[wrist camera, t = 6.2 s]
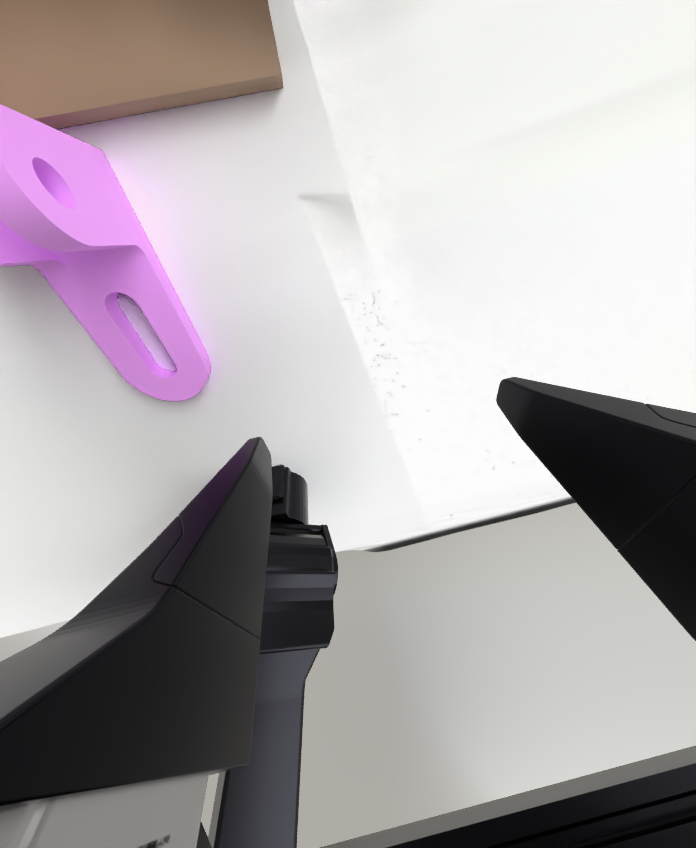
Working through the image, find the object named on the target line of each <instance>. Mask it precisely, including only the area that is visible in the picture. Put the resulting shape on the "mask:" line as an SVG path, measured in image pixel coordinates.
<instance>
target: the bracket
mask: <svg viewBox="0 0 696 848" xmlns="http://www.w3.org/2000/svg"><path fill="white" fill-rule="evenodd" d="M16 265H29V266H32V267H34V268H35V269H37V270H38V271H39V272H40V273H41V274H42V275H43V276H44V277H45V279H46V280H47V281H48V283H49V284H50V285H51V286H52V288H53V289H54V290H55V291H56V293H57V294H58V295H59V297H60V298H61V299H62V300H63V302H64V303H65V304H66V305H67V307H68V308H69V309H70V311H71V312H72V313H73V314H74V316H75V317H76V318H77V319H78V321H79V322H80V323H81V325H82V326H83V327H84V328H85V330H86V331H87V332H88V333H89V335H90V336H91V337H92V339H93V340H94V341H95V342H96V344H97V345H98V346H99V347H100V349H101V350H102V351H103V353H104V354H105V355H106V356H107V358H108V359H109V360H110V361H111V363H112V364H113V365H114V367H115V368H116V369H117V370H118V372H119V373H120V374H121V375H122V377H123V378H124V379H125V380H126V381H127V382H128V383H129V384H131V385H132V386H133V387H134V388H136V389H137V390H139V391H141V392H143V393H144V394H146V395H149V396H151V397H154V398H157V399H161V400H167V401H182V400H186V399H189V398H192V397H193V396H195V395H197V394H198V393H199V392H200V391H201V390H202V388H203V387H204V385H205V384H206V382H207V381H208V379H209V376H210V373H211V363H210V359H209V356H208V354H207V352H206V350H205V348H204V346H203V344H202V342H201V340H200V338H199V336H198V334H197V332H196V330H195V328H194V326H193V324H192V322H191V321H190V319H189V317H188V315H187V313H186V311H185V309H184V307H183V305H182V303H181V301H180V299H179V297H178V295H177V293H176V291H175V290H174V288H173V286H172V284H171V282H170V280H169V278H168V276H167V274H166V272H165V270H164V268H163V266H162V264H161V262H160V260H159V259H158V257H157V255H156V253H155V251H154V249H153V247H152V245H151V243H150V241H149V239H148V237H147V235H146V233H145V231H144V229H143V228H142V226H141V224H140V222H139V220H138V218H137V216H136V214H135V212H134V210H133V208H132V206H131V204H130V202H129V200H128V199H127V197H126V195H125V193H124V191H123V189H122V187H121V185H120V183H119V181H118V179H117V177H116V175H115V173H114V171H113V169H112V168H111V166H110V164H109V162H108V160H107V158H106V156H105V154H104V152H103V151H102V150H100V149H98V148H96V147H94V146H92V145H89V144H87V143H85V142H83V141H81V140H78V139H76V138H74V137H72V136H70V135H67V134H65V133H63V132H61V131H59V130H56V129H54V128H52V127H50V126H48V125H45V124H43V123H41V122H39V121H37V120H34V119H32V118H30V117H28V116H26V115H23V114H21V113H19V112H17V111H15V110H12V109H10V108H8V107H6V106H3V105H0V267H5V266H16ZM118 293H122V294H125V295H127V296H129V297H130V298H132V299H133V300H134V301H135V302H136V303H137V304H138V305H139V307H140V308H141V310H142V312H143V313H144V315H145V316H146V318H147V320H148V321H149V323H150V324H151V326H152V328H153V329H154V331H155V333H156V334H157V336H158V337H159V339H160V341H161V342H162V344H163V346H164V347H165V349H166V350H167V352H168V354H169V355H170V357H171V358H172V360H173V362H174V363H175V365H176V368H177V371H168V370H165V369H163V368H162V367H160V366H159V365H158V364H157V362H156V361H155V359H154V358H153V356H152V355H151V353H150V352H149V350H148V349H147V347H146V346H145V344H144V343H143V341H142V340H141V338H140V337H139V335H138V334H137V332H136V331H135V329H134V328H133V326H132V325H131V323H130V322H129V320H128V319H127V317H126V316H125V314H124V313H123V311H122V310H121V308H120V307H119V305H118V302H117V295H118Z"/></svg>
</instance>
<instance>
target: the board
mask: <svg viewBox="0 0 696 848" xmlns="http://www.w3.org/2000/svg"><path fill="white" fill-rule="evenodd" d="M278 88H283V81H282V73H281V68H280V63H279V58H278V52H277V47H276V42H275V37H274V32H273V27H272V22H271V17H270V11H269V6H268V1H267V0H0V105H3V106H6V107H8V108H10V109H12V110H15V111H17V112H19V113H21V114H23V115H26V116H28V117H30V118H32V119H34V120H37V121H39V122H41V123H43V124H45V125H48V126H50V127H52V128H54V129H60V128H65V127H71V126H76V125H82V124H87V123H93V122H98V121H104V120H109V119H115V118H120V117H125V116H131V115H136V114H142V113H147V112H153V111H158V110H164V109H169V108H175V107H180V106H186V105H191V104H196V103H202V102H207V101H213V100H218V99H224V98H229V97H235V96H240V95H246V94H251V93H257V92H262V91H267V90H273V89H278Z"/></svg>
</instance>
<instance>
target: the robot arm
mask: <svg viewBox="0 0 696 848" xmlns="http://www.w3.org/2000/svg"><path fill="white" fill-rule="evenodd" d="M496 401H497V404H498V406H499V407H500V409H501V410H502V412H503V413H504V415H505V416H506V418H507V419H508V421H509V422H510V424H511V425H512V426H513V428H514V429H515V431H516V432H517V434H518V435H519V436H520V437H521V439H522V440H523V441H524V442H525V443H526V445H527V446H528V447H529V448H530V449H531V450H532V452H533V453H534V454H535V455H536V456H537V457H538V459H539V460H540V461H541V462H542V463H543V464H544V466H545V467H546V468H547V469H548V470H549V471H550V473H551V474H552V475H553V476H554V477H555V478H556V479H557V481H558V482H559V483H560V484H561V485H562V486H563V488H564V489H565V490H566V491H567V492H568V493H569V495H570V496H571V497H572V498H573V499H574V500H575V502H576V503H577V504H578V505H579V506H580V507H581V509H582V510H583V511H584V512H585V513H586V514H587V516H588V517H589V518H590V519H591V520H592V521H593V522H594V524H595V525H596V526H597V527H598V528H599V529H600V531H601V532H602V533H603V534H604V535H605V536H606V537H607V539H608V540H609V541H610V542H611V543H612V544H613V546H614V547H615V548H616V549H618V552H619V553H620V554H621V555H622V557H623V558H624V559H625V560H626V561H627V562H628V563H629V564H630V566H631V567H632V568H633V569H634V570H635V572H636V573H637V574H638V575H639V576H640V577H641V579H642V580H643V581H644V582H645V583H646V584H647V586H648V587H649V588H650V589H651V590H652V591H653V593H654V594H655V595H656V596H657V597H658V598H659V600H660V601H661V602H662V603H663V604H664V605H665V607H666V608H667V609H668V610H669V611H670V612H671V614H672V615H673V616H674V617H675V618H676V619H677V620H678V622H679V623H680V624H681V625H682V626H683V627H684V629H685V630H686V631H687V632H688V633H689V634H690V635H691V637H692V638H693V639H694V640H695V641H696V413H692V412H687V411H681V410H676V409H671V408H666V407H661V406H656V405H651V404H644V403H641V402H636V401H631V400H626V399H621V398H616V397H611V396H606V395H601V394H596V393H591V392H586V391H581V390H576V389H571V388H566V387H561V386H556V385H552V384H547V383H542V382H537V381H532V380H527V379H522V378H517V377H511V378H507V379H503V380H502V381H501V382H500V385H499V390H498V394H497V399H496ZM337 579H338V564H337V558H336V554H335V550H334V547H333V544H332V540H331V537H330V533H329V530H328V527H327V525H308V496H307V483H306V481H305V480H304V478H303V477H301V476H300V475H298V474H296V473H293V472H291V471H290V469H289V468H288V467H284V465H280V466H276V467H272V466H271V455H270V452H269V450H268V448H267V446H266V444H265V442H264V440H263V439H262V438H261V437H256V438H251V439H249V440H248V441H247V442H246V443H245V444H244V445H243V446H242V447H241V448H240V450H239V451H238V452H237V453H236V454H235V455H234V456H233V457H232V458H231V459H230V460H229V461H228V462H227V463H226V465H225V466H224V467H223V468H222V469H221V470H220V471H219V472H218V473H217V474H216V475H215V476H214V477H213V479H212V480H211V481H210V482H209V483H208V484H207V485H206V486H205V487H204V488H203V489H202V490H201V491H200V492H199V494H198V495H197V496H196V497H195V498H194V499H193V500H192V501H191V502H190V503H189V504H188V505H187V506H186V508H185V509H184V510H183V511H182V512H181V513H180V514H179V516H177V517H176V518H175V519H174V520H173V521H172V523H171V524H170V525H169V526H168V527H167V528H166V529H165V530H164V531H163V532H162V533H161V534H160V535H159V536H158V537H157V538H156V539H155V540H154V541H153V542H152V543H151V544H150V545H149V546H148V547H147V548H146V549H145V550H144V551H143V552H142V553H141V554H140V555H139V556H138V557H137V558H136V559H135V560H134V561H133V562H132V563H131V564H130V565H129V566H128V567H127V568H126V569H125V570H124V571H123V572H122V573H120V574H119V575H118V576H117V577H116V578H115V579H114V580H113V581H112V582H111V583H110V584H109V585H108V586H107V587H106V588H105V589H104V590H103V591H102V592H101V593H100V594H99V595H97V596H96V597H95V598H94V599H93V600H92V601H91V602H90V603H89V604H88V605H87V606H86V607H85V608H84V609H83V610H82V611H81V612H79V613H78V614H77V615H76V616H75V617H74V618H72V619H71V620H70V621H69V622H67V623H66V624H65V625H63V626H62V627H61V628H59V629H58V630H56V631H55V632H54V633H52V634H51V635H49V636H47V637H46V638H44V639H42V640H41V641H39V642H37V643H36V644H34V645H32V646H30V647H28V648H26V649H24V650H22V651H20V652H18V653H17V654H15V655H13V656H11V657H9V658H7V659H5V660H3V661H1V662H0V848H296V846H297V826H298V806H299V785H300V766H301V765H300V764H301V746H302V726H303V705H304V688H305V680H306V678H307V676H308V673H309V671H310V669H311V667H312V665H313V663H314V661H315V658H316V656H317V654H318V652H319V649H320V648H327V647H328V645H329V643H330V640H331V637H332V634H333V631H334V614H333V595H334V593H335V590H336V586H337ZM215 773H219V777H218V784H217V789H216V795H215V801H214V807H213V813H212V819H211V826H210V831H209V837H207V835H206V832H205V830H204V828H203V825H202V823H201V816H202V810H203V804H204V798H205V792H206V787H207V781H208V775H212V774H215ZM321 848H696V746H693V747H689V748H686V749H682V750H678V751H675V752H671V753H668V754H664V755H660V756H656V757H652V758H649V759H645V760H641V761H638V762H634V763H630V764H627V765H623V766H619V767H616V768H612V769H608V770H604V771H601V772H597V773H593V774H590V775H586V776H582V777H579V778H575V779H572V780H568V781H564V782H561V783H557V784H553V785H549V786H546V787H542V788H538V789H534V790H531V791H527V792H524V793H520V794H516V795H512V796H509V797H506V798H502V799H498V800H494V801H490V802H487V803H483V804H479V805H476V806H472V807H468V808H465V809H461V810H457V811H453V812H450V813H447V814H442V815H439V816H435V817H431V818H428V819H424V820H420V821H417V822H413V823H409V824H406V825H402V826H398V827H395V828H391V829H387V830H384V831H380V832H376V833H372V834H369V835H365V836H362V837H358V838H354V839H350V840H347V841H343V842H339V843H336V844H332V845H328V846H325V847H321Z"/></svg>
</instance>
